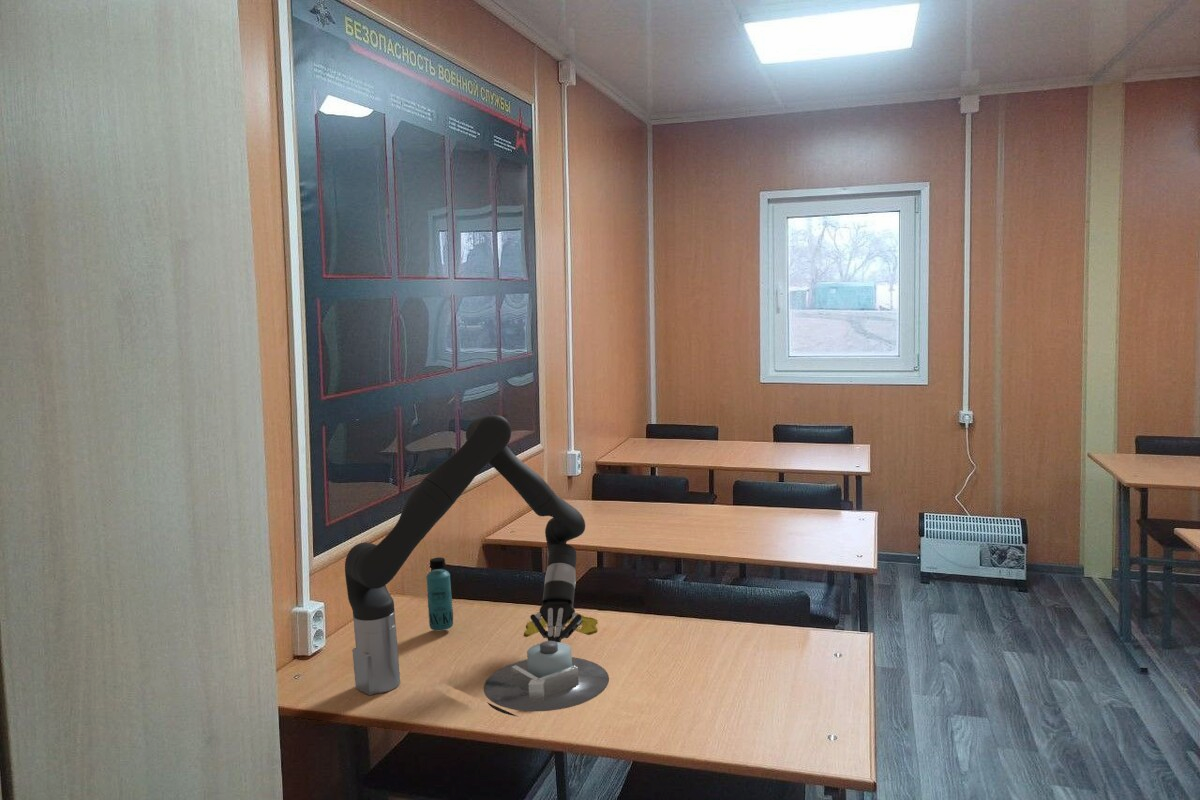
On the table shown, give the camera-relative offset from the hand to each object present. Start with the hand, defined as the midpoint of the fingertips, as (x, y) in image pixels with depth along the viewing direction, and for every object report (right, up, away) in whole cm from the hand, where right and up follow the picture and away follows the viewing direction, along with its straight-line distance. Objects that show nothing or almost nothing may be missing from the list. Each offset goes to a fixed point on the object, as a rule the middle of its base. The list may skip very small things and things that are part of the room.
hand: (553, 654), depth 207 cm
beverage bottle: (-31, -3, +30) cm, 43 cm away
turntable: (-1, -5, -8) cm, 10 cm away
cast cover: (0, -3, -5) cm, 6 cm away
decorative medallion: (+1, -2, +28) cm, 28 cm away
